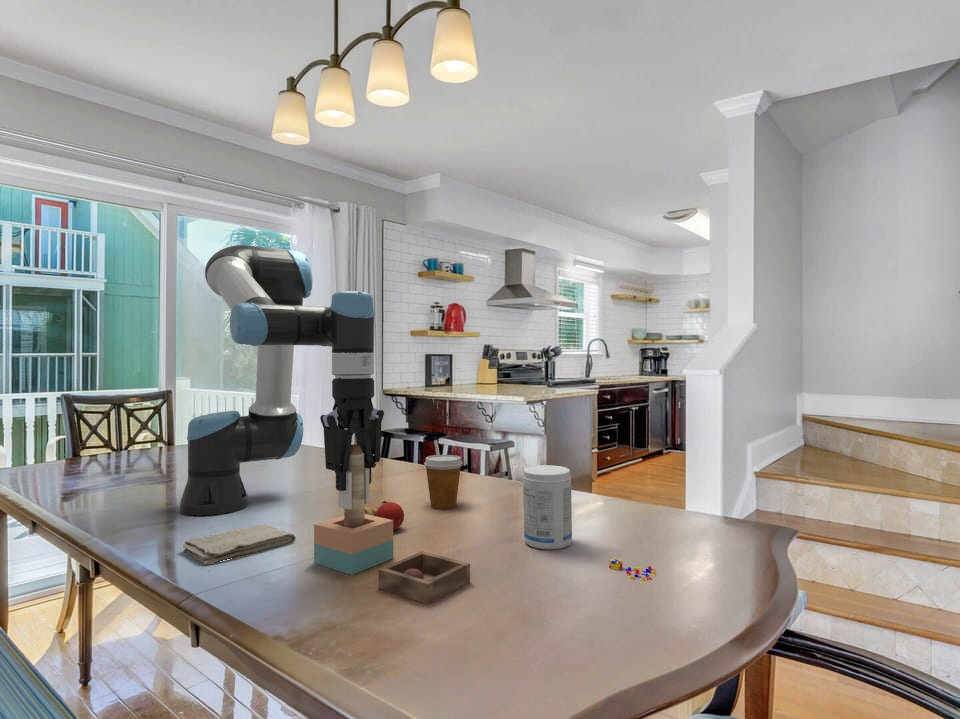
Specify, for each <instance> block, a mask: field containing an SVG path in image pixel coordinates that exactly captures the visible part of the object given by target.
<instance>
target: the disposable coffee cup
mask: <svg viewBox="0 0 960 719" xmlns="http://www.w3.org/2000/svg"><path fill="white" fill-rule="evenodd" d="M461 458H462V457H461V456H459V455H452V454H438V455H437V454H434V455H428V456H427V457H425V462H423V464H424V467H425V470H426V476H427V477H426V479H427V485H428V486H427V487H428V493H429V501H430V507H431V508H432V507H433V508H432V509H436V508H437V510H448V509H449V508H450V509H453V508H456V507H457V501H458V493H459V492H458V491H459V485H460V484H459V483H460V476H461V467H462V465H463V461H462V459H461ZM450 509H449V510H450Z"/></svg>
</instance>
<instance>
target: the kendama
mask: <svg viewBox="0 0 960 719" xmlns="http://www.w3.org/2000/svg"><path fill="white" fill-rule="evenodd" d="M364 514H368V515H372V516H377V517H381V518H385V519H390V520H393V531H396V530H398V529H399V528H401V526H402V525H403V523H404V520H405V513H404V510H403V508H402V507H401V505H400V504H398V503H396V502H394V501H391V500H390V499H386V500H383V501H382V502H381V505H380V506H377V507H376V508H371V507H369V506H364Z"/></svg>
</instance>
